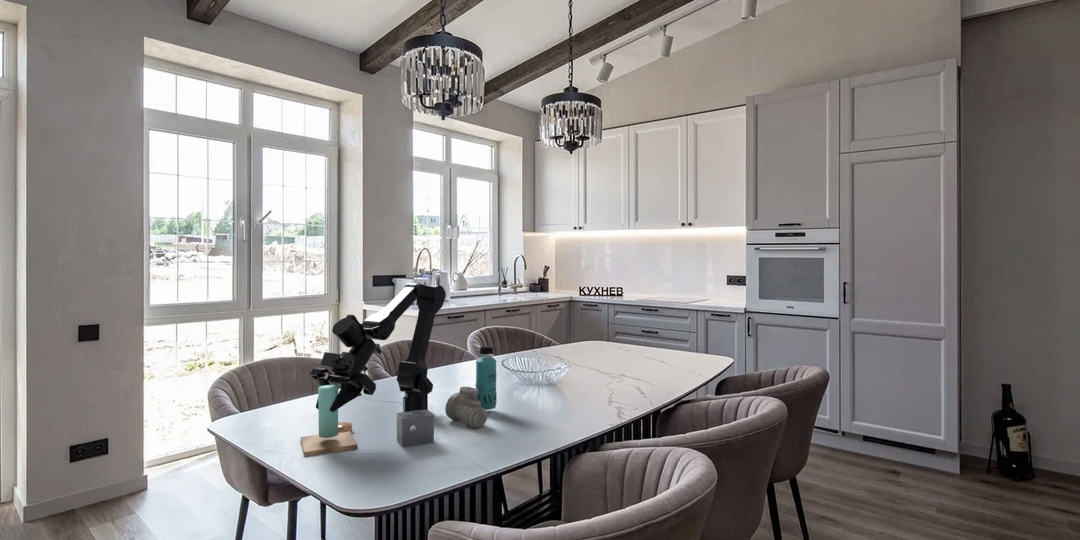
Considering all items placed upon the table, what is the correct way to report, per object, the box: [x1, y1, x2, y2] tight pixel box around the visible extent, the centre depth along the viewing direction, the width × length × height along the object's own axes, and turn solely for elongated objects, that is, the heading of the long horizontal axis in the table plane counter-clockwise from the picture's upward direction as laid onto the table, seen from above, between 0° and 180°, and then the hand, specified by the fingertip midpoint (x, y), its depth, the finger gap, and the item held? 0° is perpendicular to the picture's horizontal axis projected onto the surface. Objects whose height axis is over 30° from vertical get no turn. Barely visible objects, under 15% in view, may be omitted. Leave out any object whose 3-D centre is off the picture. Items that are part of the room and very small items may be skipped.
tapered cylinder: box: [317, 384, 339, 438], centre depth 139 cm, size 5×5×12 cm
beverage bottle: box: [474, 345, 498, 411], centre depth 168 cm, size 6×7×20 cm
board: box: [300, 431, 358, 457], centre depth 139 cm, size 12×12×1 cm
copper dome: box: [338, 421, 353, 433], centre depth 149 cm, size 6×6×2 cm
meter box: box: [396, 409, 435, 448], centre depth 141 cm, size 8×7×7 cm
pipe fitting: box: [444, 386, 488, 429], centre depth 156 cm, size 12×8×10 cm
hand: (324, 409), depth 138 cm, fingers closed on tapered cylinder, 5 cm apart
